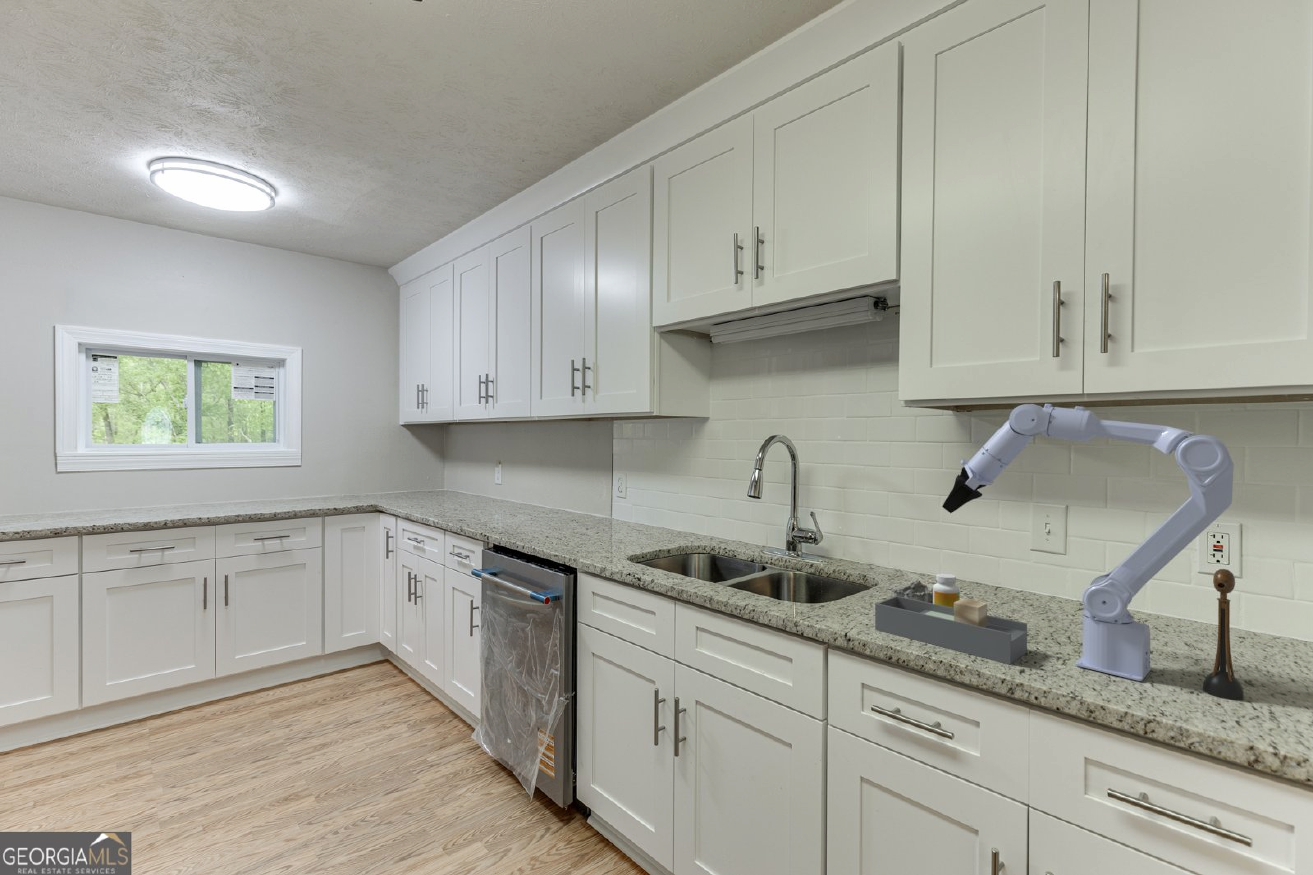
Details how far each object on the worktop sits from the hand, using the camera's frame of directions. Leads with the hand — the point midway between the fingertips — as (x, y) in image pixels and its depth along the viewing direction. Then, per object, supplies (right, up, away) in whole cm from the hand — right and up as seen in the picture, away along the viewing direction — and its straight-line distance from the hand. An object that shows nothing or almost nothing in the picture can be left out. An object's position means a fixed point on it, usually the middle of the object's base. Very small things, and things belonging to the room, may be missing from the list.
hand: (949, 505), depth 125 cm
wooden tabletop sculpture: (+30, -27, -29) cm, 49 cm away
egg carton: (+4, -27, +24) cm, 37 cm away
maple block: (+1, -23, -7) cm, 24 cm away
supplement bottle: (+4, -27, +10) cm, 29 cm away
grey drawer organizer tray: (-2, -27, -4) cm, 27 cm away
